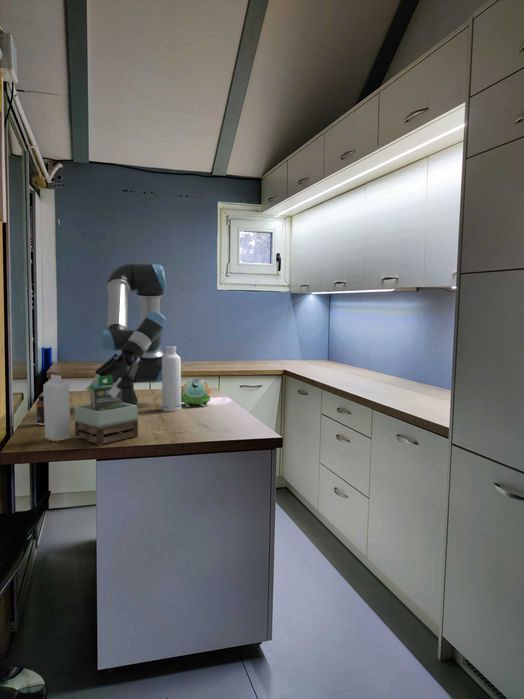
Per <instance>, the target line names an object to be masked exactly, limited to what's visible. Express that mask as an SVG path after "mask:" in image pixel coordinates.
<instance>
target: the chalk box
mask: <svg viewBox="0 0 524 699" xmlns="http://www.w3.org/2000/svg"><path fill="white" fill-rule="evenodd" d="M107 379H109V382H107V381H106V382H104V380H107ZM114 384H115V383H113V376H112V375H111V376H100V377H99V384H94V385H90V392H89V394H90V404H91V410H95V411H99V412H100V411H106V410H112V409H118V408H122V391H121V390H120V391H119V393H118V394H117V395H116V397H115V398H113V397H112V396H111V395H110V394H109V393H108V392H109V391H110V390H111V388H112V387H113V386H114Z"/></svg>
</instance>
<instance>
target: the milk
mask: <svg viewBox="0 0 524 699" xmlns="http://www.w3.org/2000/svg"><path fill="white" fill-rule="evenodd" d="M42 386H43V387H42V388H43V389H42V390H43V393H42V394H43V395H44V421H45V426H44V438H45V437H47V438H50V439H54V440H56V439H60V438H65V437H70V436H71V413H70V412H71V411H70V410H71V408H70V404H71V403H70V384H69V383H68V382H66V381H63V380H62V376H61V375H57V374H50V379H49V380H48V381H46V382H45V383H44V384H43V385H42Z"/></svg>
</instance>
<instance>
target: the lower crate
mask: <svg viewBox="0 0 524 699" xmlns="http://www.w3.org/2000/svg"><path fill="white" fill-rule="evenodd" d="M138 423H139V419H138V420H134V421H129V422H124V423H119V424H114V425H109V426H104V427H95V426H92V425H88V424H84V423H81V422H77V421H75V420H74V429H75V430H74V432H75V433H74V434H75V435H74V436H77V437H79V438H82V439H81V440H83V439H85V440H84V441H87V442H90V443H93V444H96V445H97V444H99V445H100V446H102V445H101V444H104V445H105V444H107V443H112V442H117V441H121V440H125V439H129V438H134V439H135V438H139V424H138ZM117 432H119V433H117ZM112 433H114V434H112ZM90 434H91V435H90ZM108 434H111V435H108ZM105 435H106V436H105ZM99 445H98V446H99Z"/></svg>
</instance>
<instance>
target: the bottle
mask: <svg viewBox="0 0 524 699" xmlns="http://www.w3.org/2000/svg"><path fill="white" fill-rule="evenodd" d="M165 349H166V353H165V354H164V356H163V357H162V382H161V384H162V385H161V386H162V411H164V412H168V411H173V412H179V411H178V410H180V411H181V410H182V402H181V398H182V397H181V392H182V374H181V372H182V370H181V369H182V366H181V363H182V362H181V360H182V359H181V357H180V355H178V354H177V352H176V350H177V345H176V346H175V345H174V346H171V345H169V346H165Z"/></svg>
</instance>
